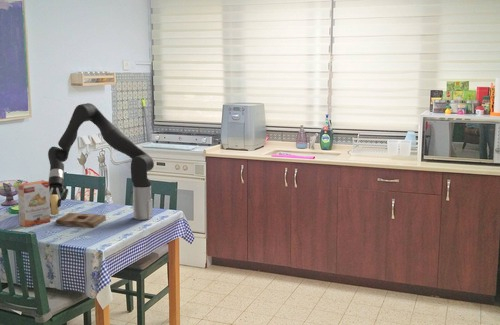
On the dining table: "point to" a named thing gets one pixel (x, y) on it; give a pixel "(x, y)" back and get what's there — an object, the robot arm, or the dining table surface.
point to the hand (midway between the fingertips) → (53, 206)
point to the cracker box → (34, 203)
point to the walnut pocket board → (81, 220)
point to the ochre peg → (54, 204)
